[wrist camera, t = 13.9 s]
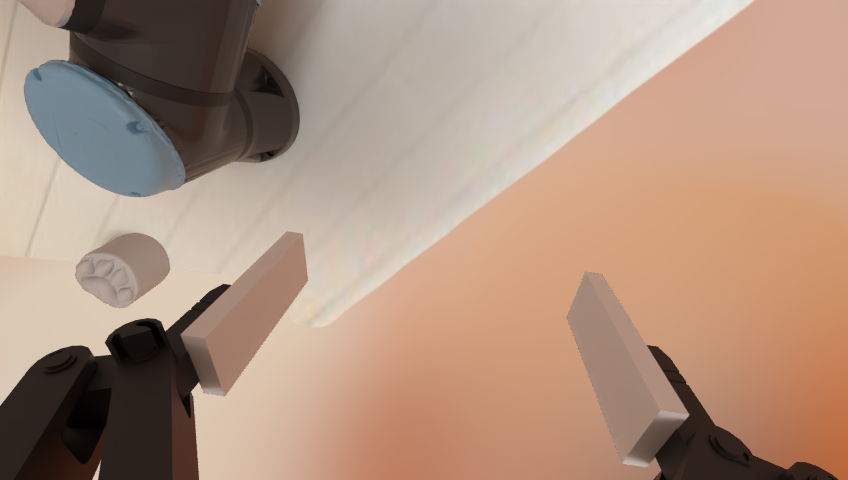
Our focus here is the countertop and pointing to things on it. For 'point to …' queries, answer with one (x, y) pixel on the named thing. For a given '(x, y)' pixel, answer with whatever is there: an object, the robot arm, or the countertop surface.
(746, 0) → the countertop surface
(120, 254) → the lumpy-topped squat cylinder
